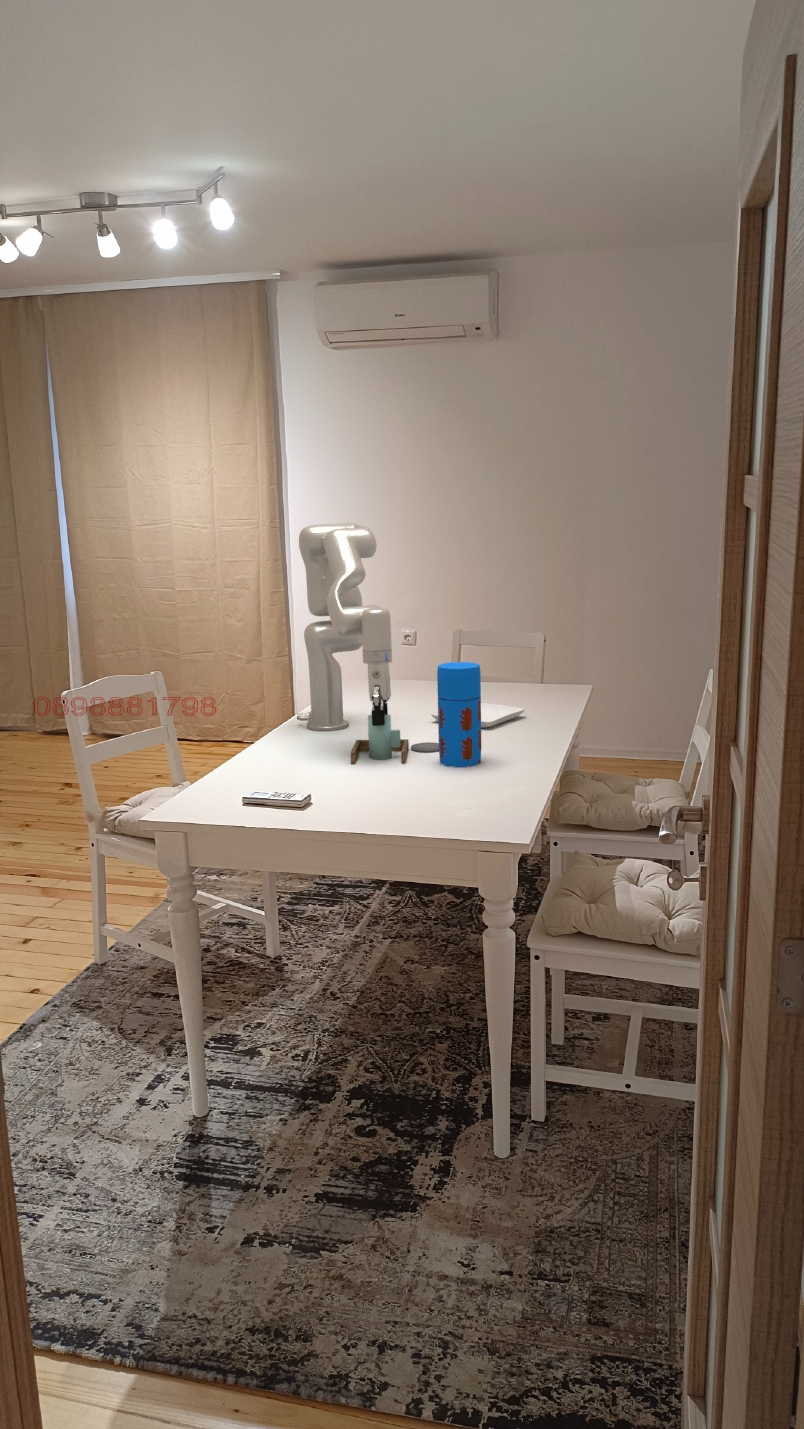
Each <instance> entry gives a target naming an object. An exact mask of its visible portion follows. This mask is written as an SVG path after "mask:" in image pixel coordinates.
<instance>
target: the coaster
mask: <svg viewBox="0 0 804 1429" xmlns="http://www.w3.org/2000/svg"><path fill="white" fill-rule="evenodd" d="M410 750H411V751H413V752H415V753H426V754H427V753H428V754H429V753H439V742H429V741H428V742H427V741H426V742H419V743H414V744H412V745H411V746H410Z"/></svg>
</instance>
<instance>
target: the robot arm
mask: <svg viewBox="0 0 804 1429" xmlns="http://www.w3.org/2000/svg"><path fill="white" fill-rule="evenodd" d="M298 535H299V536H298V548H299V553H300V556H301V559H302V561H303V564H304V567H305V568H304V569H305V577H306V578H305V580H306V595H307V596H306V598H307V605H308V606H307V607H308V611H309V612H310V614H311V615H312V616H315V617H329V619H330V620H319V621H315V622H314V621H313V622H311V623H309V624H308V625H307V626H306V627H305V629H304V632H303V638H304V643H305V648H306V654H307V663H308V676H309V696H310V712H307V713H301V712H300V713H297V714H296V719H297V721H301V722H303V721H307V723H306V728H307V729H309V730H311V731H317V732H318V731H323V732H325V731H337V730H338V731H339V730H342V729H346V728H347V727H349V722H350V721H348V720H347V719H344V706H343V705H344V703H343V702H344V701H343V700H344V699H343V680H342V679H343V678H342V667H341V664H340V663H339V661H338V660H337V659H336V658H335V657H334V655H333V654H336V653H343V652H345V653H346V652H353V651H358V650H359V649H361V648H362V650H361V651H362V663H363V664H366V665H367V680H368V681H367V682H368V694H369V701H370V702H372V703H371V715H372V725H373V726H384V725H385V715H384V714H389V710H388V709H389V708H388V702H389V701H390V699H391V696H392V692H391V689H392V688H391V677H390V676H391V675H390V665H389V663H393V651H392V650H393V649H392V648H393V647H392V627H391V626H392V625H391V620H392V619H391V612H390V610H389V609H387V608H385V607H384V608H383V607H381V606H379V605H375V604H374V605H373V604H371V605H363V600H362V599H363V598H362V593H361V590H360V588H359V585H361V584H362V583H363V582H364V580H365V578H366V575H367V574H366V570H365V567H364V565H363V562H362V559H371V558H372V557H374V555H375V554H376V552H377V540H376V536H375V535H374V533H373V531H372V530H371V528H369V527H366V526H365V525H361V524H358V523H349V522H348V523H323V524H313V525H312V524H311V525H307V526H306V527H303V528H301V530H300V532H299V534H298Z"/></svg>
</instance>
